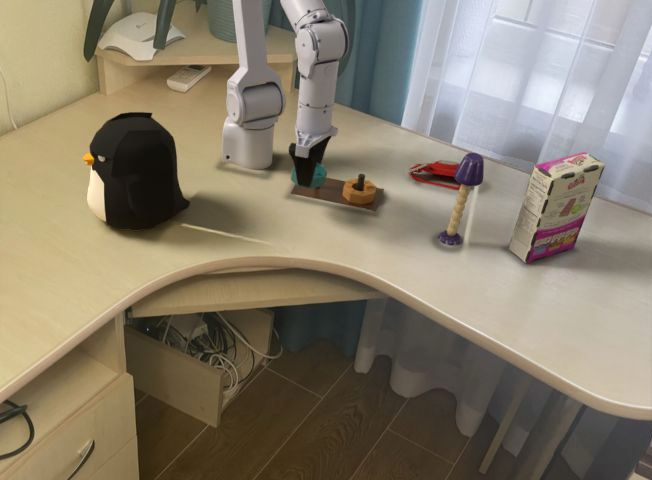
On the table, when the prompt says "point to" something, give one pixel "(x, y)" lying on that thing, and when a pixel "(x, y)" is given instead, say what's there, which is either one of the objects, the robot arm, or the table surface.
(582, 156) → the candy bar box
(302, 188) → the peg rack
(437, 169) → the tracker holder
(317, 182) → the teal ring
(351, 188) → the ochre ring
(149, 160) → the penguin
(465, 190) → the toy lamp
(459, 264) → the table surface
